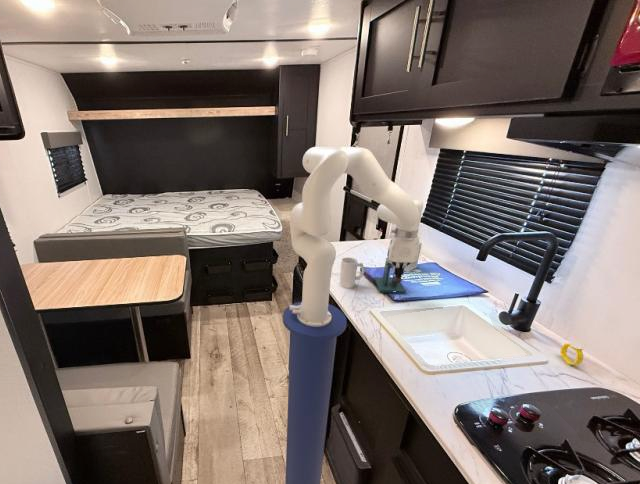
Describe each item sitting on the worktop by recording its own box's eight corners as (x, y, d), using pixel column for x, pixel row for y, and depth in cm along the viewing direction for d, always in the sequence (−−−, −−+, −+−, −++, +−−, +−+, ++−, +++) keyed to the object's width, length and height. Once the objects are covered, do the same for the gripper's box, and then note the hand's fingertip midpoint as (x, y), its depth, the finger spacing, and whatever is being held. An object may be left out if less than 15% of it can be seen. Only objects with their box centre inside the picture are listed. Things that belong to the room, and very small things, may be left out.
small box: (404, 263, 157) (409, 239, 151) (416, 267, 152) (422, 242, 147) (395, 268, 153) (400, 243, 147) (408, 272, 148) (413, 246, 142)
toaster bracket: (405, 294, 130) (410, 266, 125) (379, 292, 132) (384, 265, 127) (397, 280, 141) (402, 254, 136) (374, 279, 143) (378, 254, 137)
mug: (340, 288, 137) (342, 263, 132) (337, 281, 143) (340, 257, 138) (363, 288, 136) (367, 263, 131) (360, 281, 142) (364, 257, 137)
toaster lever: (401, 285, 126) (403, 280, 123) (392, 285, 126) (394, 279, 124) (395, 264, 134) (397, 259, 131) (387, 264, 134) (389, 258, 132)
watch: (555, 354, 95) (562, 338, 93) (565, 355, 95) (573, 339, 92) (569, 368, 90) (578, 351, 87) (581, 369, 89) (590, 352, 87)
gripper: (387, 235, 116) (380, 279, 123) (431, 236, 113) (421, 281, 121) (382, 229, 122) (376, 271, 130) (424, 229, 119) (415, 272, 127)
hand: (398, 275), depth 125 cm, fingers closed
